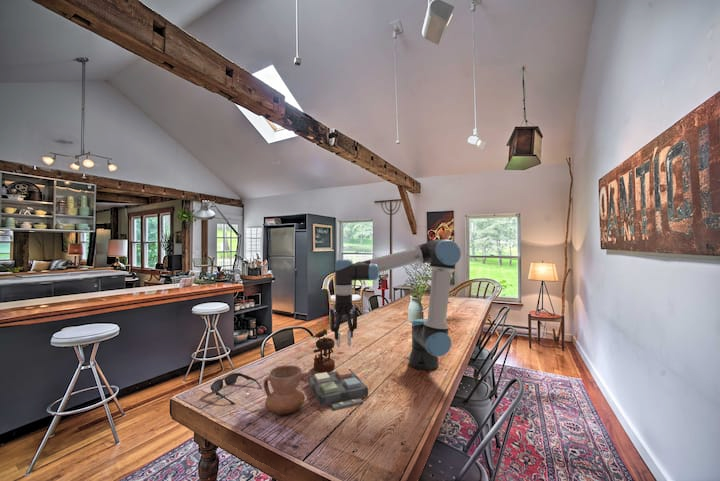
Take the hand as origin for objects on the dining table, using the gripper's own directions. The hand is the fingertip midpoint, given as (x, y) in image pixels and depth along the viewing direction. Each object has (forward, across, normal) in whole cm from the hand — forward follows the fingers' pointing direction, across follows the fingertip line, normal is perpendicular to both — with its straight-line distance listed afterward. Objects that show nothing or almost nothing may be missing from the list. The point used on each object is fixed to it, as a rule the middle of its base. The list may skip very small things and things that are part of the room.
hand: (343, 345), depth 134 cm
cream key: (+14, +10, 0) cm, 17 cm away
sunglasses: (+17, +45, -11) cm, 49 cm away
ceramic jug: (+17, +28, +10) cm, 34 cm away
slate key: (+14, 0, +10) cm, 17 cm away
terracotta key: (+14, 0, 0) cm, 14 cm away
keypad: (+17, +5, +5) cm, 18 cm away
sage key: (+14, +10, +10) cm, 20 cm away
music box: (+17, +3, -19) cm, 26 cm away
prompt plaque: (+17, +5, +18) cm, 25 cm away
